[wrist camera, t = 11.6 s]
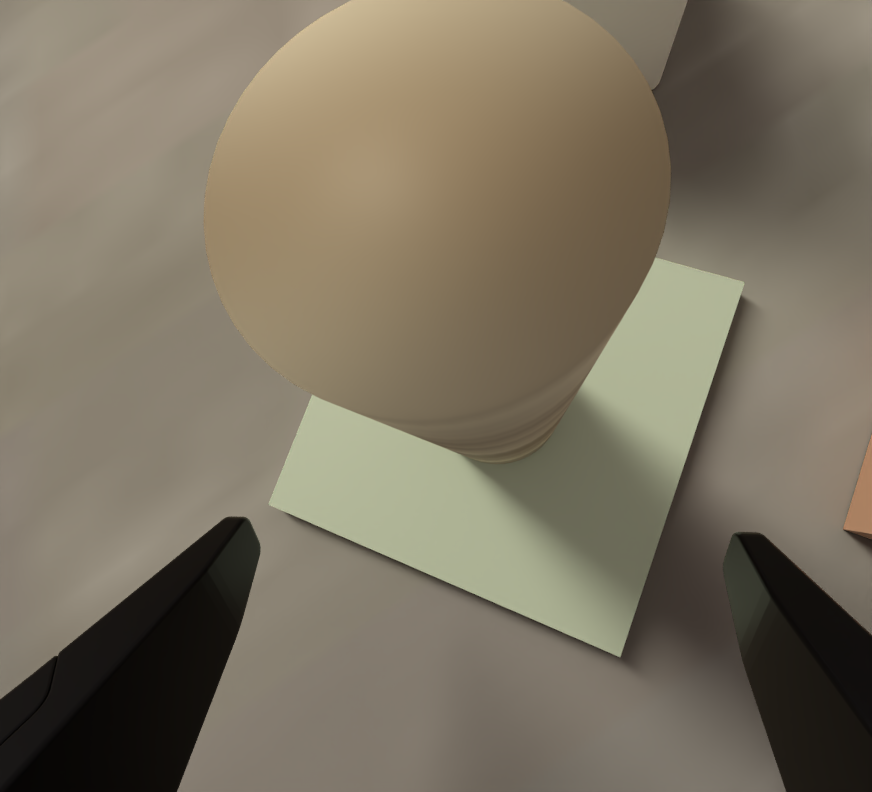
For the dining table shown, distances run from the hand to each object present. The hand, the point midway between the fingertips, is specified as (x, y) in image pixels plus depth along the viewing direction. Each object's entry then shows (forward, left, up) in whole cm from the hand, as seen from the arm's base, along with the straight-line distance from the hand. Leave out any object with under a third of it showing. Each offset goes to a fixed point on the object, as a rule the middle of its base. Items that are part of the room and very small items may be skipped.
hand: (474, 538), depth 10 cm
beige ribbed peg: (+4, +1, -8) cm, 9 cm away
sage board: (+4, +1, -9) cm, 10 cm away
